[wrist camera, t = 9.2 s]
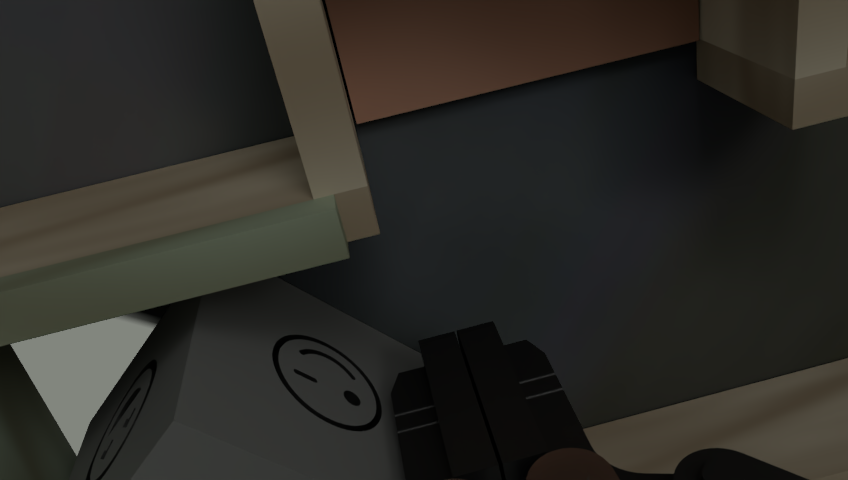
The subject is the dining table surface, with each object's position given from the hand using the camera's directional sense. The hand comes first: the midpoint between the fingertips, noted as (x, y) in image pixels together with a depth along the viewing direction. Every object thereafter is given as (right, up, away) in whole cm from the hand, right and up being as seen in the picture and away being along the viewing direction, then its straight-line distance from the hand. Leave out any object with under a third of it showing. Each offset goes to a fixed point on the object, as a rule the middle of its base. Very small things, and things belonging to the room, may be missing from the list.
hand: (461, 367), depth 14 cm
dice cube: (-4, -1, +1) cm, 5 cm away
